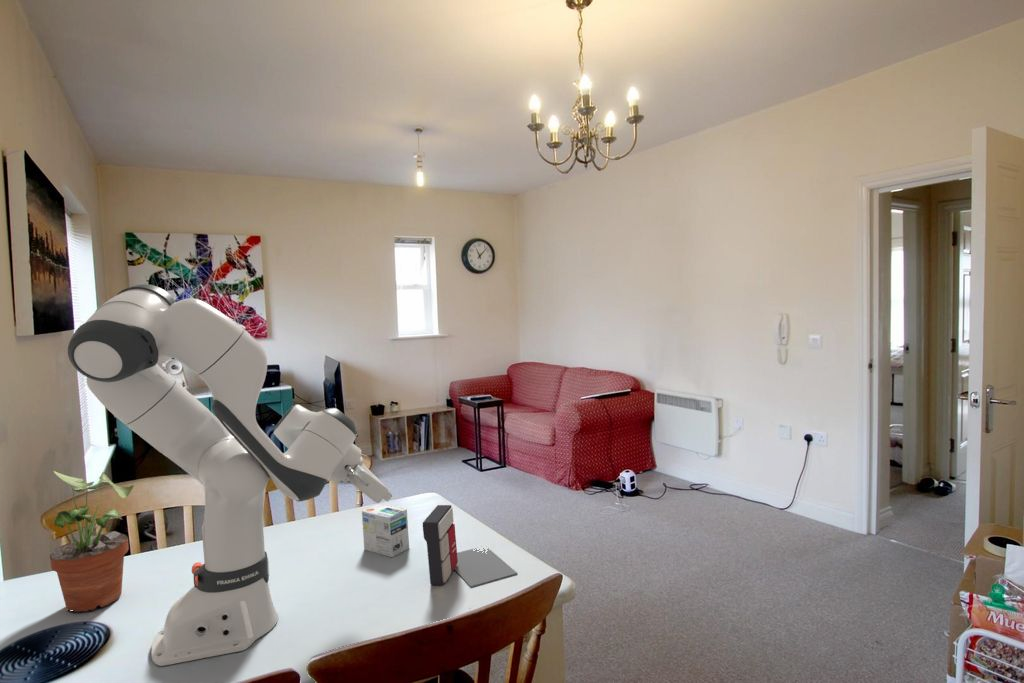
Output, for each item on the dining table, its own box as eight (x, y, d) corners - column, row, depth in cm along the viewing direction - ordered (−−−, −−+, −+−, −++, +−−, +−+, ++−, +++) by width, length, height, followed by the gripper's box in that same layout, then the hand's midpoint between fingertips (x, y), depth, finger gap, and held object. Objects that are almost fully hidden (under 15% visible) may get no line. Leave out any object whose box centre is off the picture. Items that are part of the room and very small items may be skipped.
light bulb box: (410, 548, 151) (408, 508, 151) (392, 558, 146) (389, 517, 145) (381, 540, 157) (379, 502, 156) (362, 550, 151) (360, 510, 151)
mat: (470, 587, 129) (470, 586, 129) (442, 557, 145) (442, 556, 145) (517, 574, 135) (517, 572, 135) (485, 546, 150) (485, 545, 150)
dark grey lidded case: (445, 586, 130) (440, 522, 129) (427, 585, 131) (422, 522, 129) (459, 563, 141) (454, 504, 139) (442, 562, 141) (437, 504, 140)
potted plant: (85, 625, 119) (70, 461, 117) (38, 614, 124) (23, 457, 122) (155, 589, 134) (143, 443, 131) (110, 581, 139) (98, 440, 137)
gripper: (362, 460, 115) (411, 498, 120) (342, 440, 133) (386, 474, 138) (341, 486, 113) (391, 523, 118) (324, 462, 131) (368, 495, 137)
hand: (388, 497), depth 128 cm, fingers closed
